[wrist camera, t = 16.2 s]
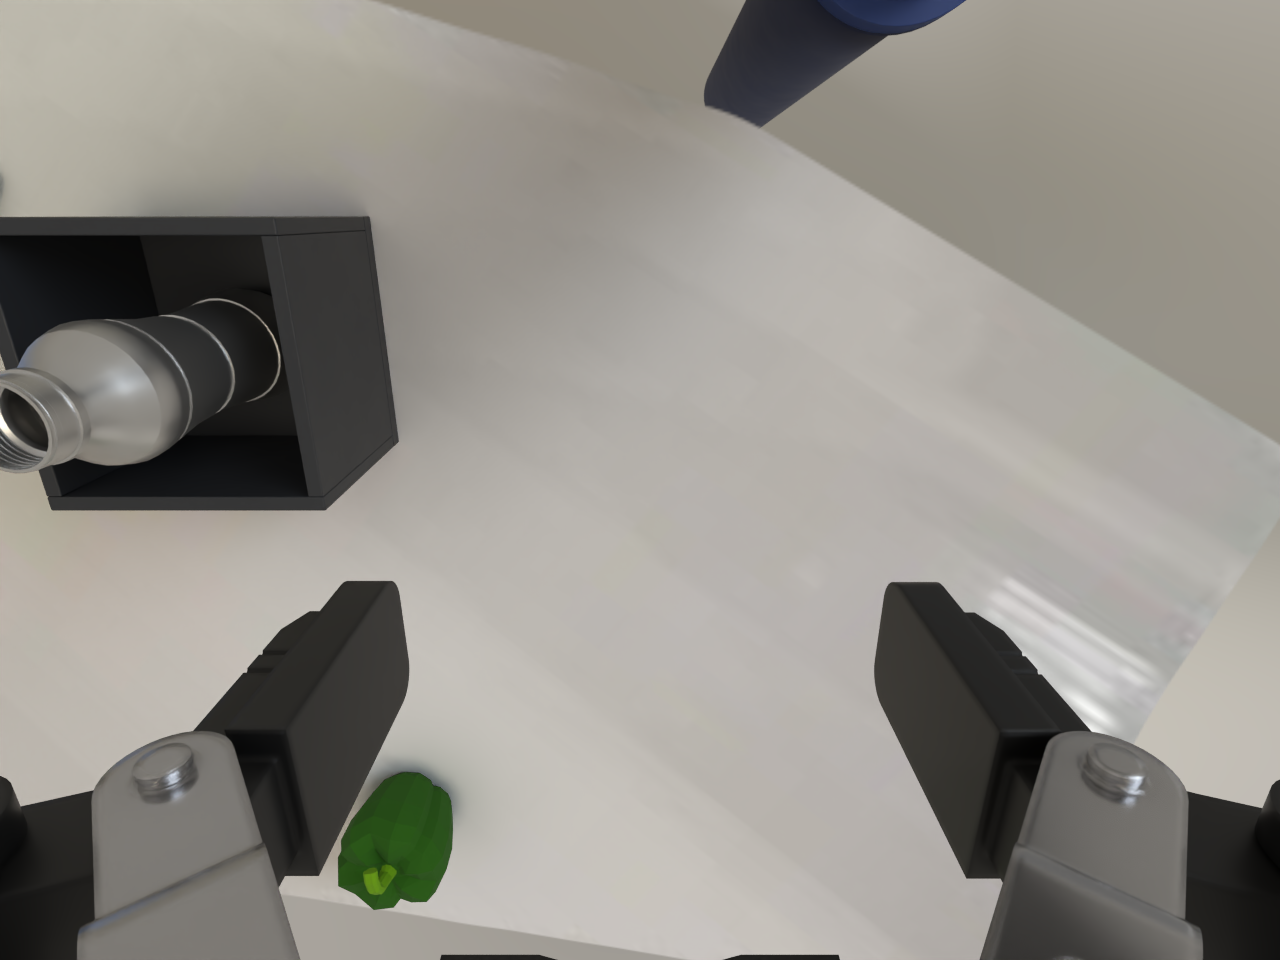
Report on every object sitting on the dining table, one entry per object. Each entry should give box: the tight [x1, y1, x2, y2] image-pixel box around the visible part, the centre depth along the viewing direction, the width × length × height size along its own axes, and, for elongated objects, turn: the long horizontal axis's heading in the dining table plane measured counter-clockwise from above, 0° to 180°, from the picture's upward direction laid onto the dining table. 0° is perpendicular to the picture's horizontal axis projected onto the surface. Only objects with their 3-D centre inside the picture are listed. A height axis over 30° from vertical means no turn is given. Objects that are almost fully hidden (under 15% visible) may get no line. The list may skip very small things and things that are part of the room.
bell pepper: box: [338, 772, 453, 910], centre depth 55 cm, size 8×8×10 cm
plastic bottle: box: [0, 289, 289, 473], centre depth 35 cm, size 6×7×20 cm
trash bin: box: [0, 217, 398, 510], centre depth 40 cm, size 15×15×12 cm
